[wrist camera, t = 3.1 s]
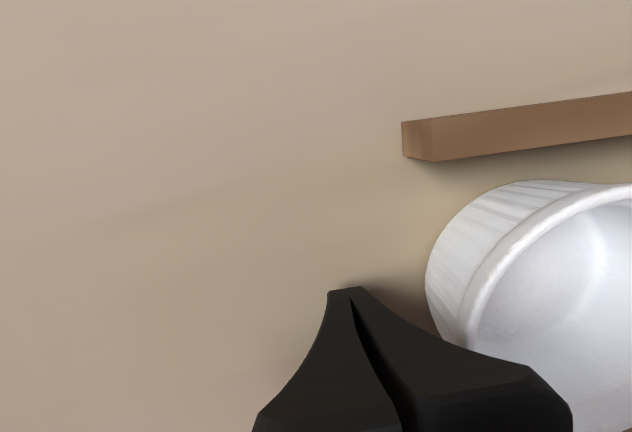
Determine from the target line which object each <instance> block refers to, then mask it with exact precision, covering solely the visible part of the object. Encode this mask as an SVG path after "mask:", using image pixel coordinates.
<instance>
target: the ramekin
mask: <svg viewBox="0 0 632 432" xmlns="http://www.w3.org/2000/svg"><path fill="white" fill-rule="evenodd" d="M425 292H426V297H427V302H428V305H429V309H430V312H431V315H432V317H433V320H434V322H435V325H436V327H437V329H438V331H439V333H440V335H441V337H442V338H443V340H445V341H447V342H450V343H452V344H455V345H457V346H460V347H463V348H466V349H468V350H471V351H475V352H478V353H481V354H484V355H487V356H491V357H494V358H498V359H503V360H507V361H511V362H515V363H519V364H523V365H527V366H529V367H531V368H532V369H533V370H534V371H535V372H536V373H537V374H538V375H540V376H541V377H542V378H543V379H544V380H545V381H546V382H547V383H548V384H549V385H550V386H551V387H552V388H553V389H554V390H555V391H556V392H557V393H558V394H559V395H560V396H561V397H562V398H563V399H564V401H565V402H566V403H567V404H568V405H569V407H570V410H571V412H572V415H573V432H622V431H624V430H627V429H629V428H632V183H621V184H611V185H605V184H593V183H581V182H569V181H558V180H527V181H519V182H513V183H510V184H507V185H502V186H500V187H497V188H495V189H493V190H490V191H488V192H486V193H484V194H483V195H481V196H479V197H478V198H476V199H475V200H473V201H472V202H470V203H469V204H468V205H466V206H465V207H464V208H463V209H462V210H460V211H459V213H457V214H456V215H455V216H454V217H453V219H452V220H451V221H450V222H449V223H448V224H447V226H446V227H445V228H444V230H443V231H442V233H441V234H440V236H439V238H438V239H437V241H436V243H435V245H434V247H433V249H432V252H431V255H430V258H429V261H428V265H427V270H426V275H425Z"/></svg>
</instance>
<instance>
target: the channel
mask: <svg viewBox="0 0 632 432" xmlns="http://www.w3.org/2000/svg"><path fill="white" fill-rule="evenodd" d="M401 125H402V146H403V156H407V157H412V158H416V159H421V160H425V161H430V162H436V161H444V160H451V159H458V158H465V157H472V156H480V155H487V154H494V153H501V152H508V151H516V150H523V149H530V148H537V147H544V146H552V145H559V144H566V143H573V142H580V141H588V140H595V139H602V138H609V137H616V136H623V135H631V134H632V91H631V92H623V93H616V94H608V95H601V96H594V97H586V98H579V99H571V100H564V101H556V102H549V103H541V104H534V105H526V106H519V107H511V108H504V109H496V110H489V111H481V112H474V113H466V114H459V115H451V116H444V117H436V118H429V119H421V120H414V121H406V122H401ZM622 432H632V428H629V429H627V430H624V431H622Z"/></svg>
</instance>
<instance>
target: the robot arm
mask: <svg viewBox="0 0 632 432" xmlns="http://www.w3.org/2000/svg"><path fill="white" fill-rule="evenodd" d="M252 432H573V415H572V412H571V410H570V407H569V405H568V404H567V403H566V402H565V401H564V399H563V398H562V397H561V396H560V395H559V394H558V393H557V392H556V391H555V390H554V389H553V388H552V387H551V386H550V385H549V384H548V383H547V382H546V381H545V380H544V379H543V378H542V377H541V376H540V375H538V374H537V373H536V372H535V371H534V370H533V369H532V368H531V367H529V366H527V365H523V364H519V363H515V362H511V361H507V360H503V359H498V358H494V357H491V356H487V355H484V354H481V353H478V352H475V351H471V350H468V349H466V348H463V347H460V346H457V345H455V344H452V343H450V342H447V341H445V340H443V339H440V338H438V337H436V336H434V335H431V334H429V333H427V332H425V331H424V330H422V329H420V328H418V327H416V326H414V325H412V324H411V323H409V322H407V321H406V320H404V319H403V318H401V317H400V316H398V315H396V314H395V313H394V312H392V311H391V310H389V309H388V308H387V307H385V306H384V305H383V304H382V303H380V302H379V301H378V300H377V299H375V298H374V297H373V296H372V295H371V294H369V293H368V292H367V291H366V290H365V289H364V288H362V287H361V286H358V287H351V288H345V289H339V290H332V291H329V292H328V293H327V306H326V311H325V314H324V318H323V321H322V324H321V327H320V329H319V332H318V334H317V337H316V339H315V341H314V343H313V345H312V347H311V349H310V351H309V353H308V354H307V356H306V358H305V359H304V361H303V363H302V364H301V366H300V367H299V369H298V370H297V372H296V373H295V374H294V375H293V377H292V378H291V379H290V380H289V382H288V383H287V384H286V385H285V387H284V388H283V389H282V390H281V391H280V393H279V394H278V395H277V396H276V397H275V398H274V399H273V400H272V401H270V402H269V403H268V404H267V405H266V406H265V407H264V408H263V409H262V410H261V411H260V412H259V413H258V415H257V418H256V420H255V423H254V426H253V429H252Z"/></svg>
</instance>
